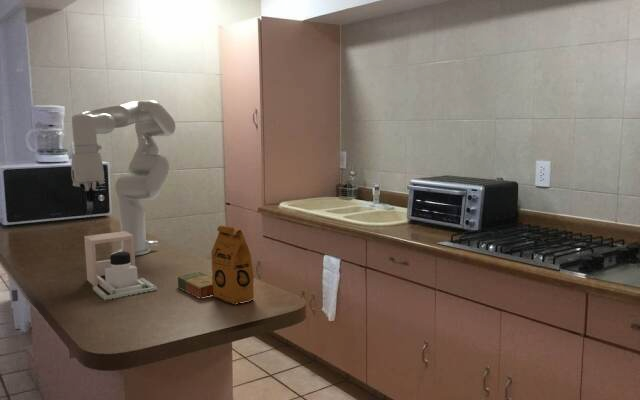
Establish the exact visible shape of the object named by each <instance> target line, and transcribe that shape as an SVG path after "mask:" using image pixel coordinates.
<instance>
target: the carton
mask: <svg viewBox="0 0 640 400" xmlns="http://www.w3.org/2000/svg"><path fill="white" fill-rule="evenodd" d="M177 287H179V288H178V289H180V288H182V289H184V290H186V291H188V292H190V293H191V294H194V295H196V296H198V297H200V298H202V297H206V296H210V295H213V283H212V276H210V275H209V274H208V275H207V274H205V273H203V272H201V271H200V272H194V273H189V274H185V275H180V276H177ZM182 289H181V290H182ZM184 290H183V291H184ZM186 291H185V292H186ZM188 292H187V293H188ZM191 294H190V295H191Z"/></svg>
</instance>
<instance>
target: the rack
mask: <svg viewBox="0 0 640 400" xmlns="http://www.w3.org/2000/svg"><path fill="white" fill-rule="evenodd" d="M96 266H97V281H98V286H100V287H101V288H103V289H104V290H105V291H106V292H107V293H109V295H112V294H117V293H123V292H128V291H134V290H139V289H144V288H146V285H145V283H144V282H142V281H141V280H140V278H138V281H137V284H138V285H136V286H130V287H125V288H119V289H115V288H114V287H112V286H111V285H110V284H108V283H106V280H105V279H104V278H102V277H103V276H104V277H105V269H106V268H109V267H112V266H111V261H110V259H106V260H105V259H104V260H99V261H97V260H96Z"/></svg>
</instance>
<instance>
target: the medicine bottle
mask: <svg viewBox="0 0 640 400" xmlns="http://www.w3.org/2000/svg"><path fill="white" fill-rule="evenodd" d="M109 258H110V259H109V260H110V261H111V266H112V267H109V268H106V269H105V275H104V277H105V279H104V280H105V281H106V283H108V284H110V285H111V286H112V287H114V288H115V289H119V288H125V287H130V286H136V285H138V284H137V281H138V279H139V278H138V277H139V276H138V267H137V266H136V265H135V266H131V259H130V253H129V252H125V251H120V252H118V251H115V252H112V253H111V254H110V257H109Z"/></svg>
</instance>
